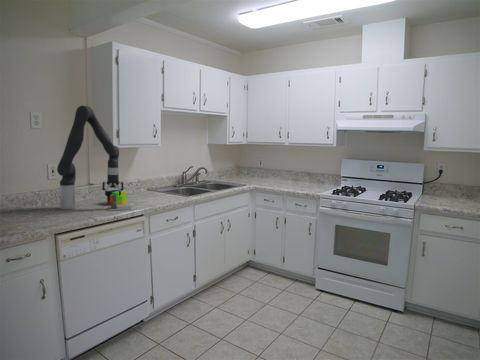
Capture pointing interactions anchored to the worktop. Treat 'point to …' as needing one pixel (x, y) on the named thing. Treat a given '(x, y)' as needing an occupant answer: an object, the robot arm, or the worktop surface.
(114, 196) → the walnut block
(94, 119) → the robot arm
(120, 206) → the slate mat
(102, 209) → the worktop surface
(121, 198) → the puzzle toy
